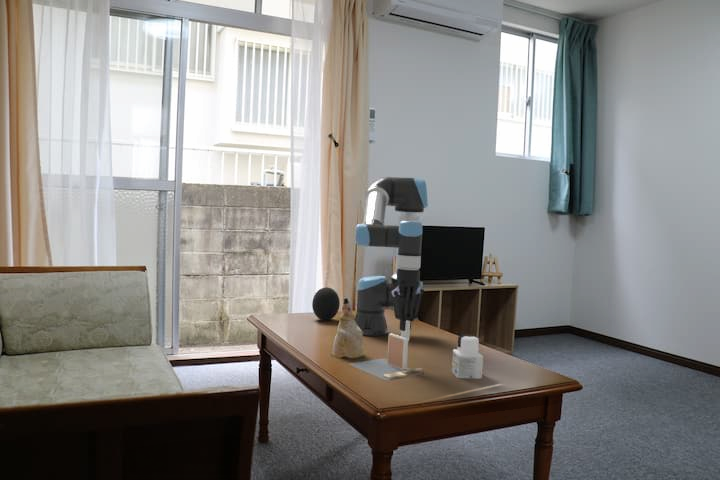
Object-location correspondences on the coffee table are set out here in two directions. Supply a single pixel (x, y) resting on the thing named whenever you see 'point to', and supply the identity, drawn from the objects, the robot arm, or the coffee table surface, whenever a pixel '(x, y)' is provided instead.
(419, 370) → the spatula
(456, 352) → the container
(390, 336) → the tile
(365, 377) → the coffee table surface
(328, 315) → the decorative egg
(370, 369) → the mat
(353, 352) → the figurine
